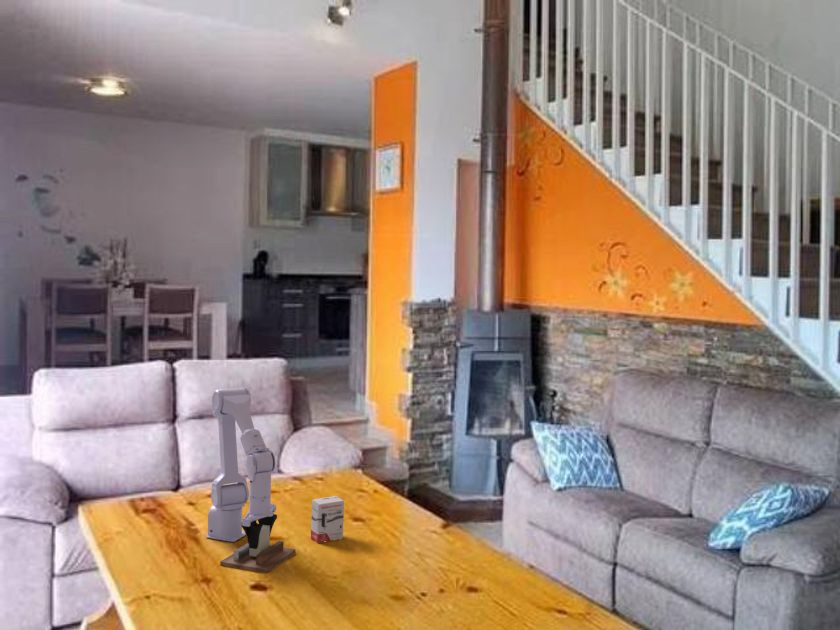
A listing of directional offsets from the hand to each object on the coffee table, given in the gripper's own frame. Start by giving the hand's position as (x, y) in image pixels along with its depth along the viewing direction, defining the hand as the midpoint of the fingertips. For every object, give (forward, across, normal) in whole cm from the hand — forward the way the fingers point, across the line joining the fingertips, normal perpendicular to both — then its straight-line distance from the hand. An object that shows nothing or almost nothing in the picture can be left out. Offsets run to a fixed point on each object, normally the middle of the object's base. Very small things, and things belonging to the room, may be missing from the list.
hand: (259, 544), depth 213 cm
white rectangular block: (+2, 0, 0) cm, 2 cm away
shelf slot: (+4, 0, 0) cm, 4 cm away
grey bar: (+4, 0, +3) cm, 5 cm away
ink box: (+4, +22, -10) cm, 25 cm away
